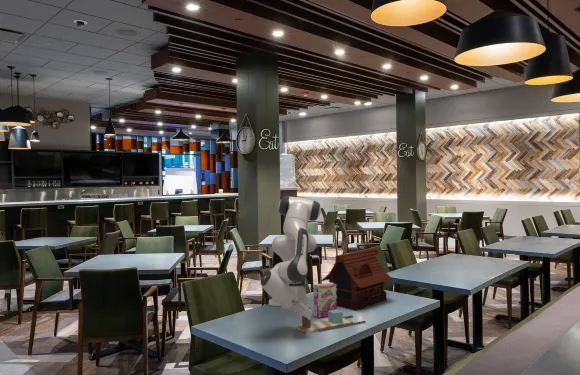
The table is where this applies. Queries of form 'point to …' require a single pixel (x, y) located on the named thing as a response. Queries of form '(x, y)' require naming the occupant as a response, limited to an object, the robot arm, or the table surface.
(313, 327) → the tan long piece
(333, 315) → the cube
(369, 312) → the table surface
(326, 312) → the candy bar box
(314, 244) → the robot arm
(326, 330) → the track
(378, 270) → the house
